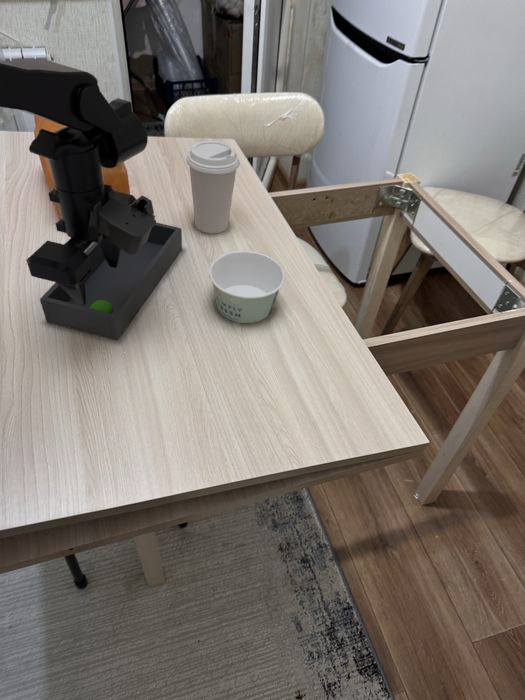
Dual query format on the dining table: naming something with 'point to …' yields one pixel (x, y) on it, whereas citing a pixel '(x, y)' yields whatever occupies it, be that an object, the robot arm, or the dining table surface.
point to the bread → (111, 176)
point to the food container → (246, 285)
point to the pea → (102, 306)
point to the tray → (115, 285)
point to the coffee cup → (212, 183)
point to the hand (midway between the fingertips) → (98, 284)
